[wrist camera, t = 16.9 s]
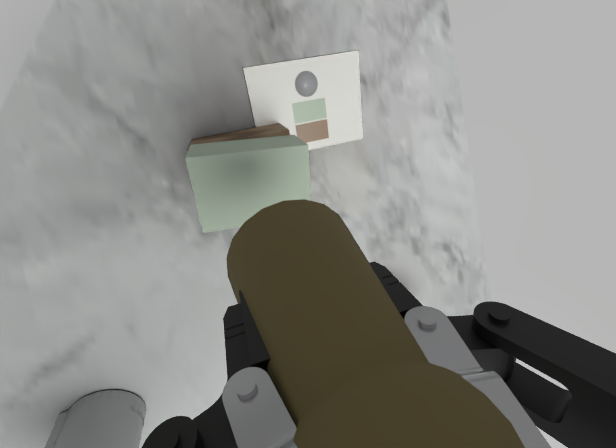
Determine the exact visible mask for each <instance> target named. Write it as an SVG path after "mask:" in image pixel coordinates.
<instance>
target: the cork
mask: <svg viewBox="0 0 616 448" xmlns="http://www.w3.org/2000/svg"><path fill="white" fill-rule="evenodd" d="M227 270H228V278H229V280H230V283H231V286H232V289H233V291H234V294H235V297H236V299H237V302H238V304H240V303H241V302H240V296H239V290H241V292H242V294H243V296H244V298H245V301H246V303H247V305H248V308H249V310H250V312H251V314H252V317H253V319H254V321H255V324H256V326H257V328H258V330H259V333H260V335H261V337H262V339H263V342H264V344H265V346H266V349H267V351H268V353H269V355H270V358H271V359H270V361H269V364H268V366H267V371H268V373H269V376H270V378H271V381H272V382H273V384H274V386H275V388H276V390H277V392H278V394H279V396H280V398H281V399H282V401H283V403H284V405H285V407H286V409H287V411H288V413H289V415H290V416H291V418H292V420H293V422H294V424H295V426H296V428H297V429H296V432H295V435H294V439H293V441H294V443H295V444H296V445H297V448H525V447H524V445H523V443H522V441H521V439H520V438H519V436H518V434H517V432H516V431H515V429H514V427H513V425H512V423H511V422H510V421H509V420H508V419H507V418H506V417H505V415H504V414H503V413H502V412H501V411H500V410H499V409H498V408H497V407H496V406H495V405H494V403H493V402H492V401H491V400H490V399H489V398H488V397H487V396H486V395H485V394H484V393H483V392H481V391H480V390H479V389H477V388H476V387H474V386H473V385H472V384H470V383H469V382H468V381H466V380H465V379H464V378H463V377H462V376H461V375H460V374H458V373H455V372H453V371H451V370H449V369H447V368H444V367H441V366H437V365H434V364H431V363H429V362H428V360H427V358H426V356H425V355H424V353H423V351H422V349H421V348H420V346H419V344H418V343H417V341H416V339H415V338H414V336H413V335H412V333H411V331H410V330H409V328H408V326H407V325H406V323H405V321H404V319H403V317H402V316H401V315H400V313H399V311H398V310H397V308H396V307H395V305H394V303H393V302H392V300H391V298H390V297H389V295H388V294H387V292H386V290H385V289H384V287H383V285H382V284H381V282H380V280H379V279H378V277H377V276H376V274H375V272H374V271H373V269H372V267H371V265H370V264H369V262H368V260H367V259H366V257H365V255H364V254H363V252H362V251H361V249H360V247H359V246H358V244H357V242H356V241H355V239H354V238H353V236H352V234H351V233H350V231H349V229H348V228H347V226H346V225H345V223H344V222H343V220H342V219H341V217H340V216H339V214H337V213H336V212H334V211H333V210H331V209H330V208H329V207H327V206H326V205H324V204H321V203H317V202H313V201H310V200H306V199H301V200H285V201H281V202H278V203H276V204H273V205H270V206H268V207H265V208H263V209H261V210H260V211H259V212H257V213H256V214H255V215H253V216H252V217H251V218H249V219H248V220H247V221H245V222H244V224H243V225H242V226H241V228H240V229H239V231H238V232H237V233H236V235H235V236H234V237H233V239H232V242H231V245H230V248H229V252H228V255H227Z"/></svg>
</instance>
